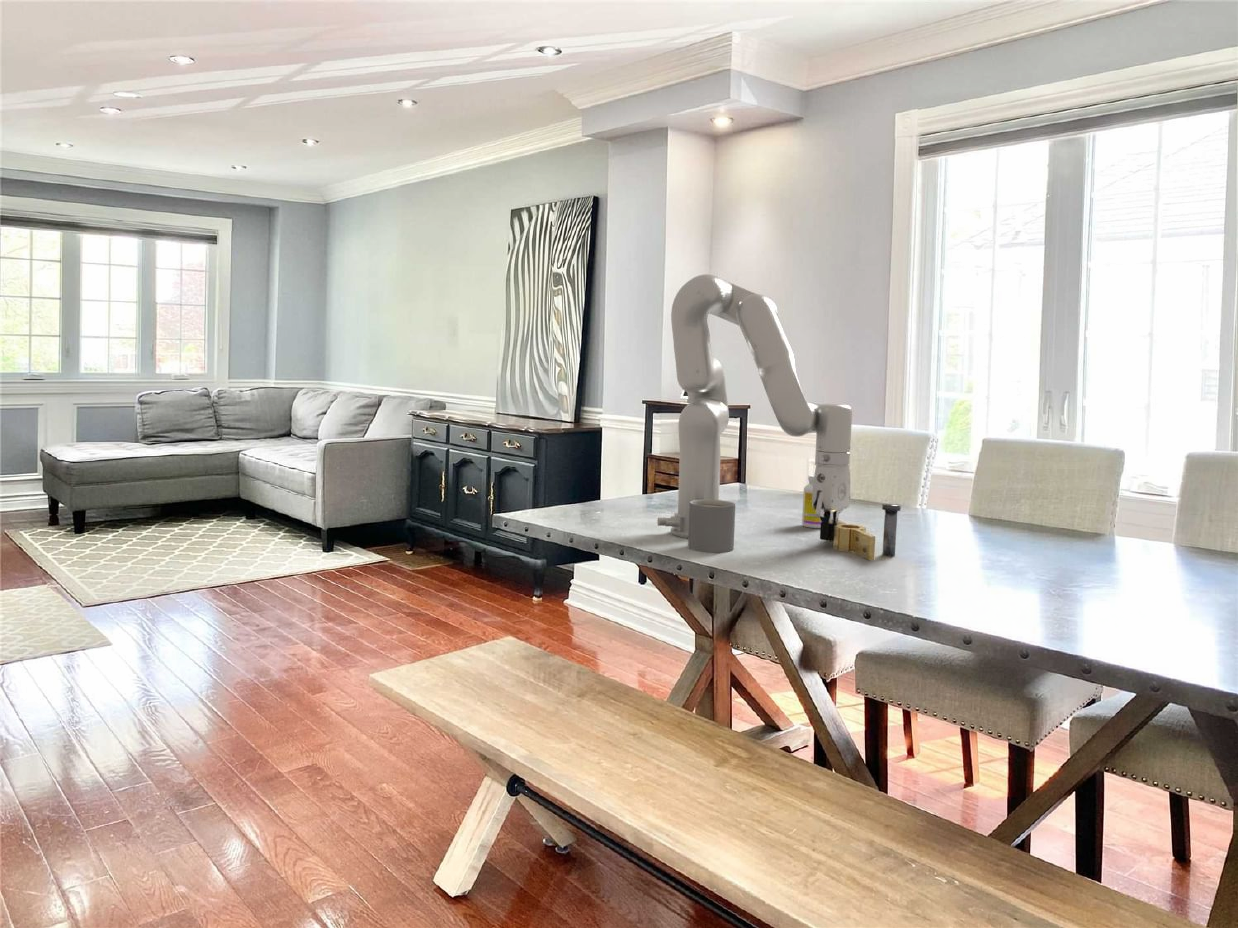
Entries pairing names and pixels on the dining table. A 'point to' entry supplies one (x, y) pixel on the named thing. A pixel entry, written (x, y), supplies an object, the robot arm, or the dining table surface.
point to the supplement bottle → (809, 507)
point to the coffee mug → (711, 526)
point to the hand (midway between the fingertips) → (827, 539)
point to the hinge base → (854, 540)
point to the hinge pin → (890, 528)
